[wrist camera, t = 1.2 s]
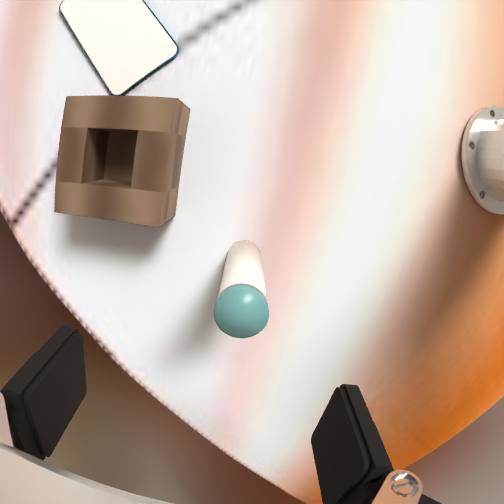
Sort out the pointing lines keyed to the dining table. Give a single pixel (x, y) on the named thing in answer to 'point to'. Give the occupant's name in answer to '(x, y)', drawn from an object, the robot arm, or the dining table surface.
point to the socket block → (121, 158)
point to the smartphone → (120, 40)
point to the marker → (242, 292)
